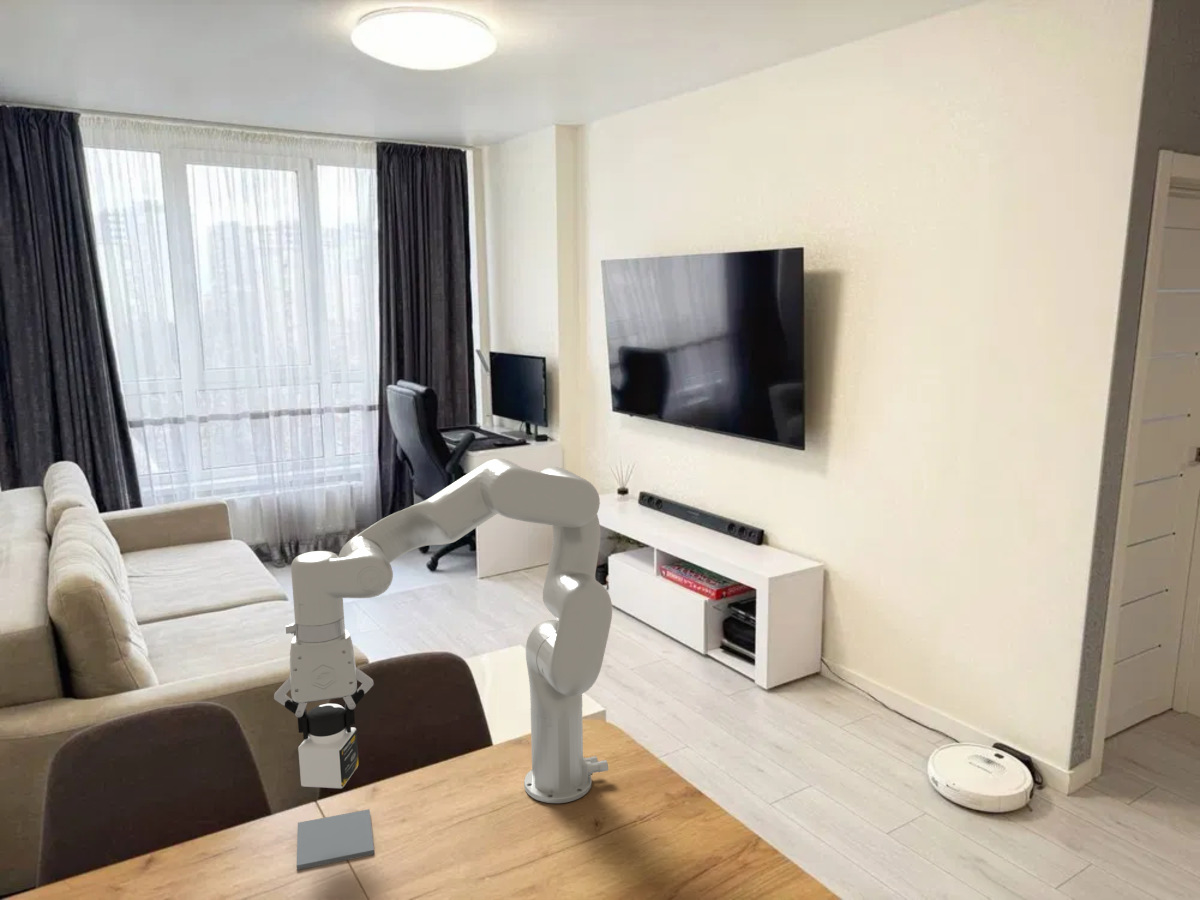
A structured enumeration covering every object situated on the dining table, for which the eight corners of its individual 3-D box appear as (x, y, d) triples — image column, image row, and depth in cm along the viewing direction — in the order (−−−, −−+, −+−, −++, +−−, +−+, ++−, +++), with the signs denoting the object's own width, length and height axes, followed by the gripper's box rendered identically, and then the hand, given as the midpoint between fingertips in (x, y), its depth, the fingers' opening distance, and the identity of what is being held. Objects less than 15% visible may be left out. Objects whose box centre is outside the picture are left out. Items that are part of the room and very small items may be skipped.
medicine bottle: (342, 789, 137) (338, 720, 135) (300, 787, 138) (295, 718, 136) (359, 765, 144) (355, 699, 142) (319, 763, 145) (314, 698, 143)
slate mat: (369, 813, 151) (369, 809, 151) (374, 854, 139) (374, 849, 139) (298, 826, 147) (297, 822, 147) (296, 870, 136) (296, 865, 136)
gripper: (261, 644, 131) (270, 752, 134) (377, 630, 136) (383, 734, 139) (264, 627, 138) (272, 730, 141) (374, 614, 143) (379, 713, 146)
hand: (327, 731), depth 140 cm, fingers closed on medicine bottle, 6 cm apart
